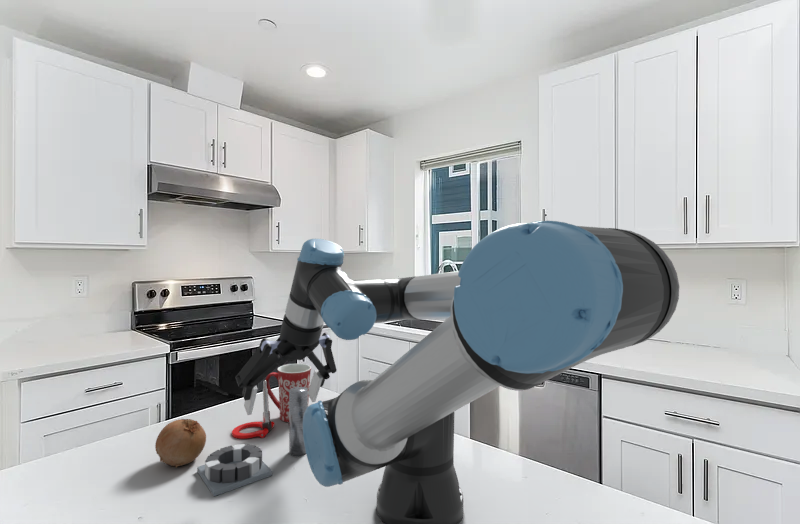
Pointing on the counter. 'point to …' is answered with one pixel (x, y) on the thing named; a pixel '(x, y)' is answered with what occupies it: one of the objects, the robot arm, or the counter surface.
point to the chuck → (233, 468)
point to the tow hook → (265, 425)
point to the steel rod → (297, 420)
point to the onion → (180, 442)
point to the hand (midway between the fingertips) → (281, 403)
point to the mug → (288, 385)
